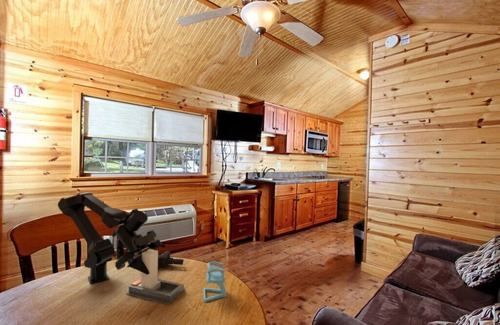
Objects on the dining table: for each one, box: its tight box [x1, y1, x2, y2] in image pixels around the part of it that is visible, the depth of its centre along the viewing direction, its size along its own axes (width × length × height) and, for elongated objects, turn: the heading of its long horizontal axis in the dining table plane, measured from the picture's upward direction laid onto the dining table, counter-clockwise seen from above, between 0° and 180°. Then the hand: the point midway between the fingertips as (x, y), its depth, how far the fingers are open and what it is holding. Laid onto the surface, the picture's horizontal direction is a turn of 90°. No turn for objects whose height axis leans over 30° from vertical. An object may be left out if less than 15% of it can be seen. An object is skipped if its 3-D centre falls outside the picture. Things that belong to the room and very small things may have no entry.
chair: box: [203, 260, 227, 303], centre depth 89 cm, size 8×8×12 cm
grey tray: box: [126, 277, 186, 306], centre depth 90 cm, size 18×10×3 cm, turn 73°
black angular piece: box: [158, 250, 184, 268], centre depth 112 cm, size 5×20×15 cm
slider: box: [138, 249, 161, 290], centre depth 91 cm, size 6×5×14 cm
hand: (152, 271), depth 90 cm, fingers closed on slider, 4 cm apart
